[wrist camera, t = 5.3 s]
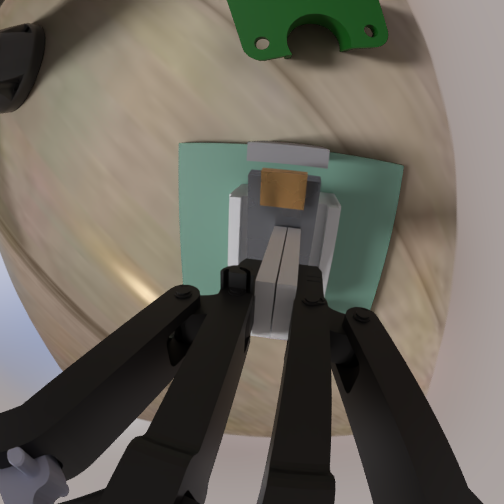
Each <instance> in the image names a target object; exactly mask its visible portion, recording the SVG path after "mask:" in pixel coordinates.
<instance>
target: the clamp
mask: <svg viewBox="0 0 504 504" xmlns="http://www.w3.org/2000/svg"><path fill="white" fill-rule="evenodd" d="M227 2H228V5H229V8H230V11H231V14H232V17H233V20H234V23H235V26H236V29H237V32H238V35H239V38H240V41H241V45H242V48H243V50H244V52H245V53H246V54H247V55H248V56H249V57H251V58H253V59H255V60H259V61H266V60H271V59H276V58H281V57H284V59H287V58H291V56H292V53H291V52H290V50H289V48H288V45H287V38H288V35H289V34H290V32H291V31H292V30H293V29H295V28H296V27H298V26H300V25H303V24H317V25H321V26H323V27H325V28H327V29H329V30H330V31H331V32H332V33H333V34H334V35H335V37H336V38H337V40H338V43H339V48H340V52H343V51H348V50H351V49H361V48H375V47H379V46H382V45H384V44H385V43H386V41H387V39H388V30H387V27H386V23H385V19H384V16H383V13H382V9H381V6H380V3H379V0H227ZM364 27H367V28H369V29H370V30H371V31H372V33H373V36H372V37H369V36H368V35H366V33H365V32H364ZM260 39H267V40H268V41H269V42H270V44H269V46H268V48H266V49H264V50H260V49H257V47H256V43H257V41H258V40H260Z"/></svg>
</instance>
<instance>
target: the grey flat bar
mask: <svg viewBox="0 0 504 504" xmlns="http://www.w3.org/2000/svg"><path fill="white" fill-rule="evenodd" d="M320 188H321V177H320V176H313V175H308V172H302V171H293V170H283V169H273V168H262V170H253V169H251V171H250V172H249V174H248V214H247V258H248V259H256V260H263V257H264V254H265V252H266V249H267V246H268V243H269V240H270V237H271V234H272V231H273V229H274V226H280V227H287V231H288V227H289V228H297V229H301V235H300V252H299V264H302V265H308V264H309V258H310V252H311V247H312V241H313V235H314V229H315V222H316V216H317V209H318V202H319V195H320ZM286 236H287V233H286ZM272 322H273V320H272ZM271 330H272V325H271ZM271 330H270V331H271Z"/></svg>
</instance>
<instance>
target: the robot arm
mask: <svg viewBox="0 0 504 504" xmlns="http://www.w3.org/2000/svg"><path fill="white" fill-rule="evenodd" d="M3 2H4V0H0V7H1V5H2V4H3ZM44 46H45V34H44V30H43V28H42V27H41V26H40V25H36V24H30V23H26V24H21V25H17V26H13V27H9V28H5V29H2V30H0V113H8V112H13V111H15V110H16V109H17V108H19V106H20V105H21V104H22V103H23V102H24V100H25V99H26V97H27V96H28V94H29V92H30V90H31V88H32V86H33V84H34V82H35V79H36V77H37V74H38V71H39V68H40V65H41V61H42V57H43V53H44ZM286 233H287V236H286ZM300 235H301V229H297V228H289V227H288V231H287V227H280V226H274V229H273V231H272V234H271V237H270V240H269V243H268V246H267V249H266V252H265V254H264V257H263V260H256V259H248V258H246V259H244V260H243V261H241V262H240V263H239V265H232V266H227V267H225V268H223V269H222V270H221V271H220V291H219V293H218V294H214V295H200V291H199V289H198V288H196V287H194V286H191V285H178V286H175V287H173V288H171V289H170V290H168V291H167V292H166V293H164V294H163V295H162V296H160V297H159V298H158V299H156V300H155V301H154V302H152V303H151V304H150V305H148V306H147V307H146V308H144V309H143V310H142V311H140V312H139V313H138V314H136V315H135V316H134V317H132V318H131V319H130V320H129V321H127V322H126V323H125V324H123V325H122V326H121V327H119V328H118V329H117V330H116V331H114V332H113V333H112V334H110V335H109V336H108V337H106V338H105V339H104V340H103V341H101V342H100V343H99V344H97V345H96V346H95V347H94V348H92V349H91V350H90V351H88V352H87V353H86V354H85V355H83V356H82V357H81V358H80V359H78V360H77V361H76V362H74V363H73V364H72V365H71V366H69V367H68V368H67V369H66V370H64V371H63V372H62V373H61V374H59V375H58V376H57V377H56V378H54V379H53V380H52V381H51V382H49V383H48V384H47V385H46V386H44V387H43V388H42V389H41V390H40V391H38V392H37V393H36V394H35V395H33V396H32V397H31V398H30V399H29V400H28V401H26V402H25V403H24V404H23V405H21V406H18V407H16V408H13V409H11V410H8V411H5V412H2V413H0V493H1V496H2V499H3V501H4V504H54V502H55V500H57V499H58V498H59V497H65V496H67V495H68V493H69V487H68V485H67V484H66V481H67V480H69V479H71V478H73V477H75V476H77V475H78V474H80V473H81V472H83V471H84V470H85V469H87V468H88V467H89V466H90V465H91V464H92V463H93V462H94V461H95V460H96V459H97V458H98V457H99V456H100V455H101V454H102V453H103V452H104V451H105V450H106V449H107V448H108V447H109V446H110V445H111V444H112V443H113V442H114V441H115V440H116V439H117V438H118V437H119V436H120V435H121V434H122V433H123V432H124V430H126V429H127V428H128V426H129V425H130V424H131V423H132V422H133V421H134V420H135V419H136V418H137V417H138V416H139V415H140V414H141V413H142V412H143V411H144V410H145V408H146V407H147V406H148V405H149V404H150V403H151V402H152V401H153V400H154V399H155V398H156V397H157V396H158V395H159V393H160V392H161V391H162V390H163V389H164V388H165V387H166V386H167V385H168V384H169V383H170V382H171V380H172V379H173V378H174V379H173V381H172V383H171V385H170V387H169V389H168V391H167V393H166V395H165V397H164V399H163V401H162V403H161V405H160V407H159V409H158V411H157V412H156V414H155V416H154V418H153V420H152V422H151V424H150V426H149V428H148V430H147V432H146V433H145V434H144V435H143V436H138V437H135V438H134V439H133V440H132V441H131V442H130V443H129V445H128V446H127V448H126V450H125V452H124V454H123V456H122V458H121V459H120V461H119V463H118V465H117V467H116V469H115V471H114V473H113V475H112V477H111V479H110V481H109V483H108V485H107V487H106V488H105V489H102V490H99V491H96V492H93V493H91V494H88V495H85V496H82V497H79V498H76V499H73V500H69V501H66V502H62V503H58V504H204V502H205V499H206V495H207V489H208V482H209V478H210V475H211V472H212V469H213V466H214V462H215V459H216V456H217V453H218V450H219V446H220V443H221V440H222V437H223V433H224V430H225V427H226V423H227V420H228V417H229V413H230V410H231V407H232V403H233V400H234V396H235V393H236V390H237V386H238V383H239V379H240V376H241V372H242V369H243V365H244V362H245V358H246V355H247V351H248V347H249V344H250V334H251V330H252V335H259V336H265V337H269V335H270V330H271V325H272V330H271V337H272V338H279V339H287V340H288V341H287V346H286V351H285V357H284V366H283V373H282V379H281V385H280V391H279V397H278V403H277V409H276V415H275V420H274V426H273V431H272V436H271V442H270V447H269V452H268V457H267V462H266V466H265V472H264V476H263V480H262V485H261V489H260V493H259V497H258V500H257V504H334V501H335V479H334V476H333V475H332V473H331V472H330V450H331V415H332V389H331V369H332V372H333V375H334V378H335V380H336V383H337V386H338V389H339V392H340V395H341V398H342V401H343V404H344V407H345V410H346V413H347V417H348V420H349V423H350V426H351V429H352V432H353V435H354V439H355V442H356V445H357V448H358V451H359V455H360V458H361V461H362V464H363V468H364V472H365V475H366V479H367V482H368V486H369V489H370V492H371V496H372V500H373V504H483V503H482V502H481V501H480V500H479V499H478V498H477V496H476V495H475V494H474V493H473V492H471V490H470V489H469V488H468V486H467V483H466V481H465V478H464V476H463V474H462V471H461V469H460V467H459V464H458V462H457V460H456V458H455V455H454V453H453V451H452V449H451V447H450V445H449V443H448V440H447V438H446V436H445V434H444V432H443V430H442V428H441V426H440V424H439V422H438V420H437V418H436V416H435V414H434V413H433V411H432V409H431V407H430V405H429V403H428V401H427V399H426V397H425V396H424V394H423V392H422V390H421V388H420V387H419V385H418V383H417V381H416V379H415V378H414V376H413V374H412V372H411V371H410V369H409V367H408V366H407V364H406V362H405V360H404V359H403V357H402V355H401V354H400V352H399V350H398V349H397V347H396V346H395V344H394V342H393V341H392V339H391V337H390V336H389V334H388V333H387V331H386V329H385V328H384V326H383V325H382V323H381V322H380V320H379V318H378V317H377V316H376V314H375V313H374V312H372V311H371V310H369V309H367V308H363V307H352V308H350V309H348V310H347V311H346V314H344V313H341V312H338V311H335V310H333V309H331V308H330V307H329V306H328V302H327V300H326V299H325V298H324V291H323V279H322V271H321V270H320V269H319V268H318V267H317V266H310V265H302V264H299V252H300ZM272 320H273V322H272Z"/></svg>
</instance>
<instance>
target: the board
mask: <svg viewBox="0 0 504 504" xmlns="http://www.w3.org/2000/svg"><path fill="white" fill-rule="evenodd" d="M262 168H273V169H283V170H293V171H302V172H308V175H313V176H320V177H321V188H320V195H319V202H318V209H317V216H316V222H315V229H314V235H313V241H312V247H311V252H310V258H309V264H308V265H310V266H317V267H318V268H319V269H320V270H321V271H322V279H323V291H324V298H325V299H326V300H327V302H328V306H329V307H330V308H331V309H333V310H335V311H338V312H341V313H344V314H346V311H347V310H348V309H350V308H352V307H363V308H367V309H369V310H370V309H371V306H372V303H373V300H374V296H375V293H376V290H377V287H378V283H379V280H380V276H381V273H382V269H383V266H384V262H385V258H386V254H387V250H388V246H389V242H390V238H391V234H392V229H393V225H394V220H395V215H396V210H397V205H398V199H399V194H400V188H401V182H402V175H403V168H404V166H403V165H400V164H395V163H390V162H386V161H381V160H376V159H370V158H365V157H359V156H353V155H347V154H341V153H334V152H330V150H329V149H327V148H324V147H321V146H314V145H306V144H296V143H286V142H274V141H252V142H248V143H247V144H237V143H179V219H180V242H181V260H182V274H183V285H191V286H194V287H196V288H198V289H199V291H200V295H214V294H218V293H219V291H220V271H221V270H222V269H223V268H225V267H227V266H232V265H239V263H240V262H241V261H243V260H244V259H246V258H247V214H248V174H249V172H250V171H251V169H253V170H262ZM250 335H251V336H258V337H265V336H259V335H252V330H251V334H250ZM265 338H272V337H271V331H270V335H269V337H265ZM272 339H279V338H272ZM280 340H287V339H280Z"/></svg>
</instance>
